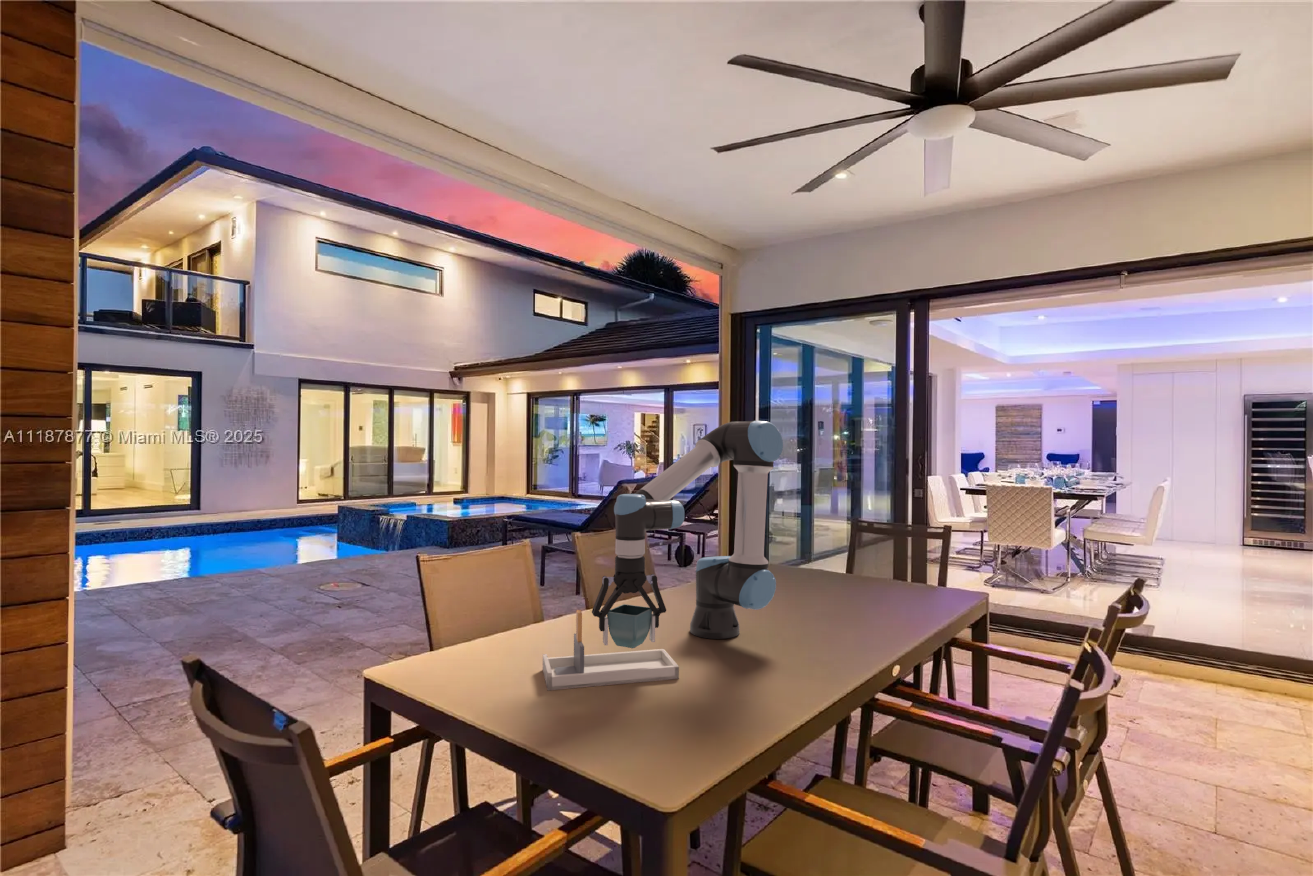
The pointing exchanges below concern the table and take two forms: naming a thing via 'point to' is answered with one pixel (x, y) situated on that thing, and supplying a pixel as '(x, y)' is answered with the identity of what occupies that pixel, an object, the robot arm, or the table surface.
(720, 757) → the table surface
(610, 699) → the table surface
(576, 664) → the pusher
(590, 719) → the table surface
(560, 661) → the white tray
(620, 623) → the flower pot
